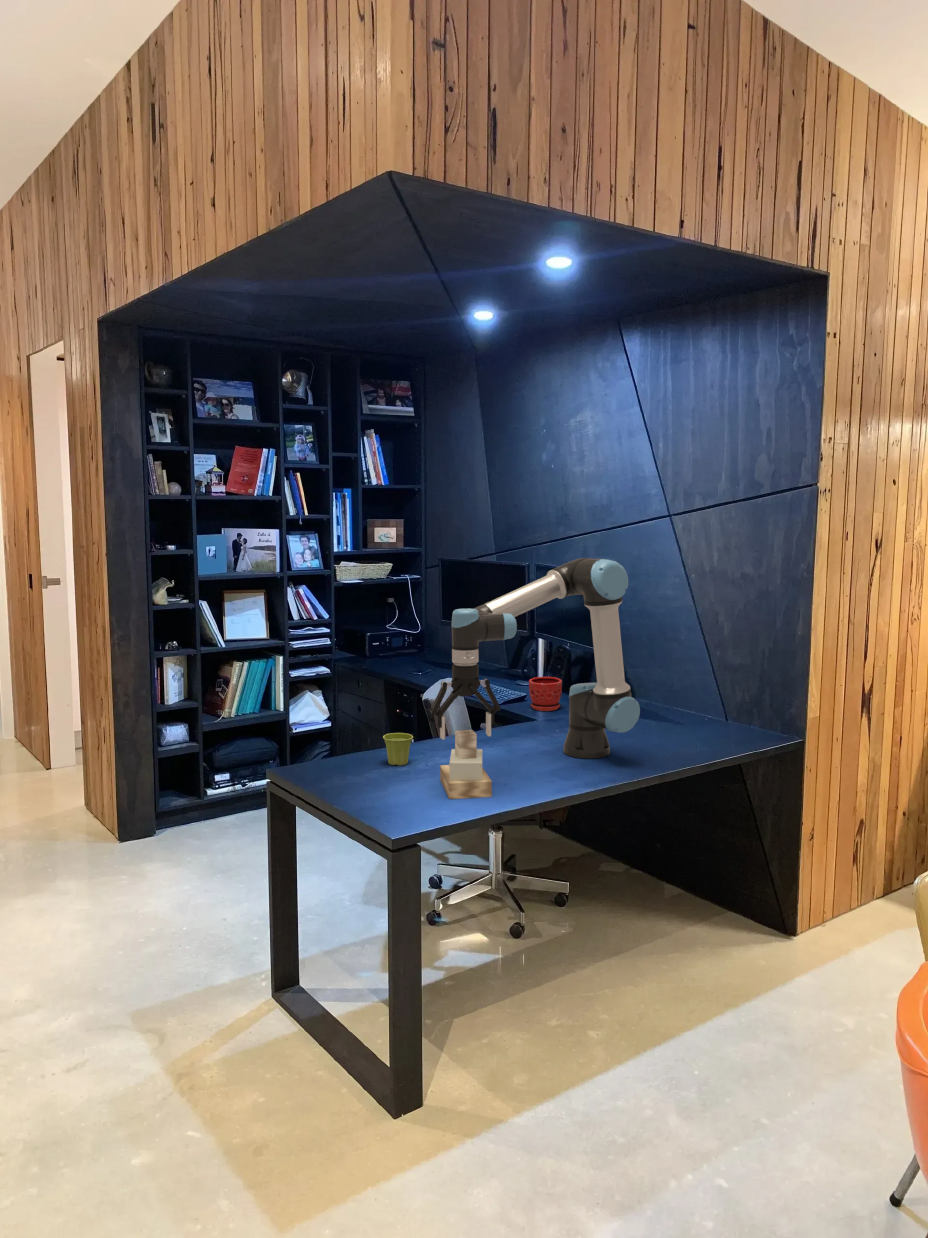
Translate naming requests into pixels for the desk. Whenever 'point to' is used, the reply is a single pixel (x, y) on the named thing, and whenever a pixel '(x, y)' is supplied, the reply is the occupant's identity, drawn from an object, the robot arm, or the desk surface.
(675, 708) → the desk surface
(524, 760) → the desk surface
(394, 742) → the plant pot
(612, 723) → the robot arm
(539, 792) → the desk surface
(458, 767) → the middle block
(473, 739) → the ash block
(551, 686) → the plant pot
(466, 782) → the bottom block
